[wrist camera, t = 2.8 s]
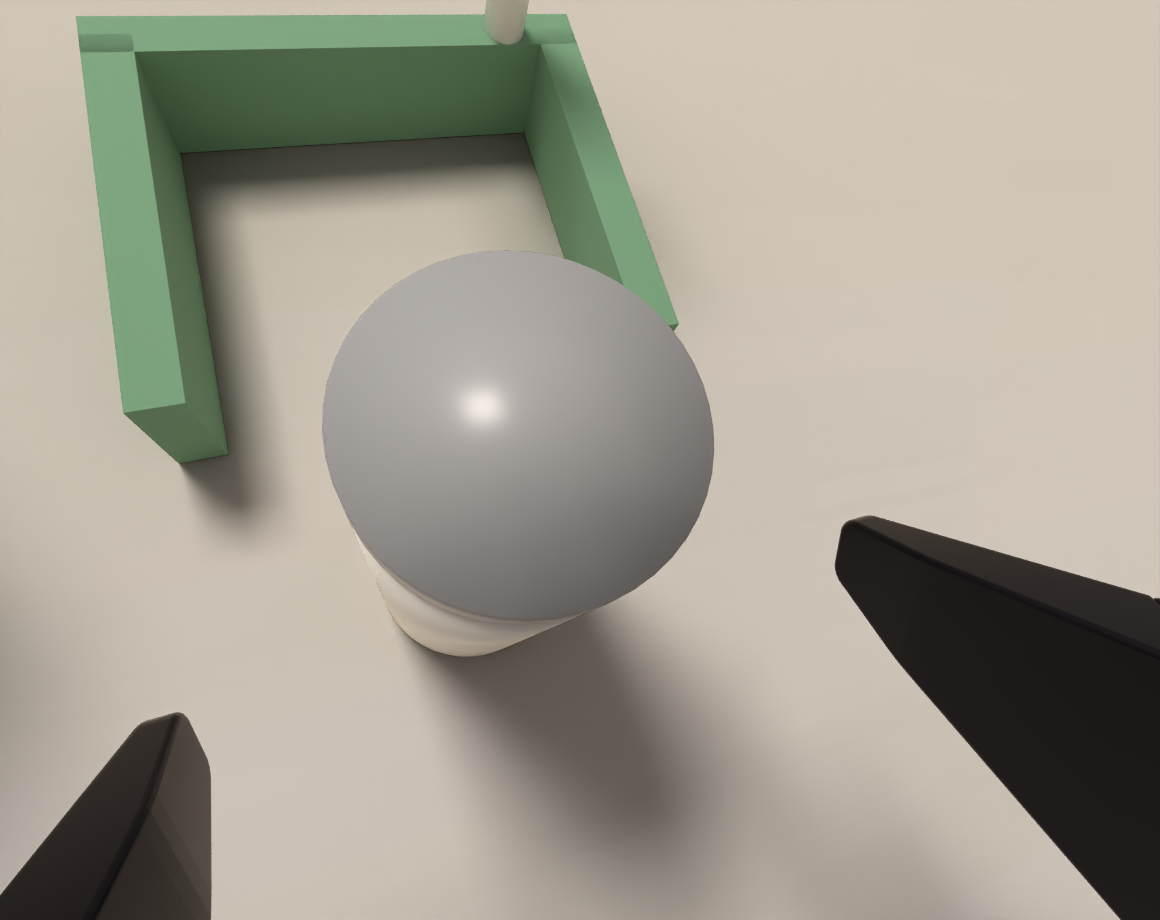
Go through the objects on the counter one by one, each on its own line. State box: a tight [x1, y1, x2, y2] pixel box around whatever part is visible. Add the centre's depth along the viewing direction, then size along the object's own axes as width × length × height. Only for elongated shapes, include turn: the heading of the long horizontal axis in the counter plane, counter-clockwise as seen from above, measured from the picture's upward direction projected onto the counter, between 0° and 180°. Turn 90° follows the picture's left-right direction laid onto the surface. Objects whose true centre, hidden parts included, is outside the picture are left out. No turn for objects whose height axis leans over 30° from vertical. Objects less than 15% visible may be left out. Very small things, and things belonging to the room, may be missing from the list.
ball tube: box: [322, 250, 714, 657], centre depth 13 cm, size 5×5×11 cm
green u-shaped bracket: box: [76, 0, 679, 463], centre depth 16 cm, size 11×13×10 cm
